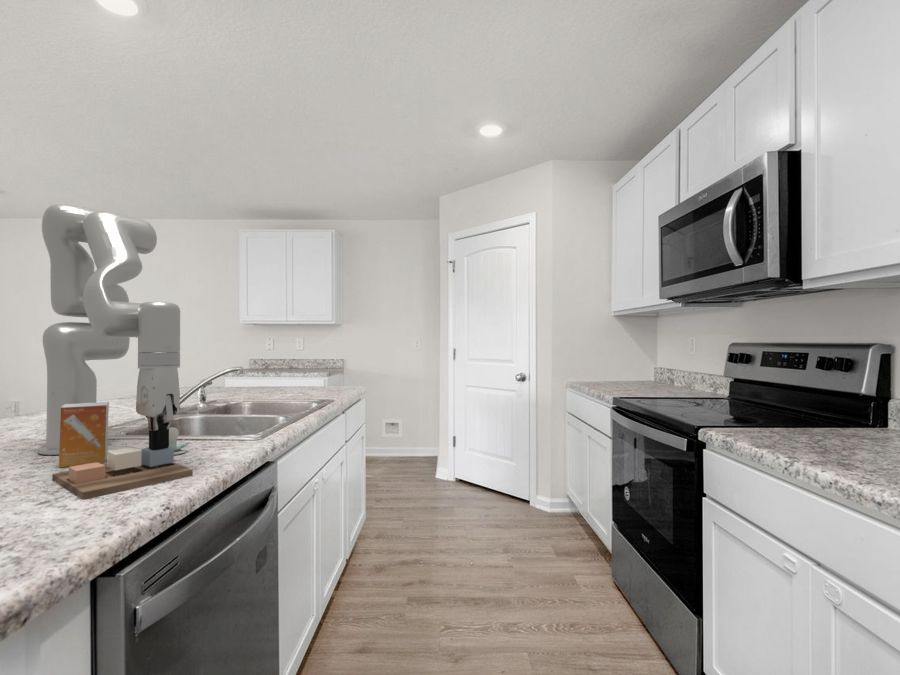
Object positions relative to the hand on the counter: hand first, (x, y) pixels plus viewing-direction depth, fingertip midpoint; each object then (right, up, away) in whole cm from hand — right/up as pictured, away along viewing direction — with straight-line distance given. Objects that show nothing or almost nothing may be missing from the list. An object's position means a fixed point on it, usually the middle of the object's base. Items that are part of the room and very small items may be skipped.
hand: (158, 448), depth 95 cm
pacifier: (-7, -5, +15) cm, 17 cm away
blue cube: (0, -3, 0) cm, 3 cm away
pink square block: (-7, -4, -10) cm, 13 cm away
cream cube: (-4, -2, -5) cm, 7 cm away
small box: (-21, -5, +6) cm, 22 cm away
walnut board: (-4, -5, -5) cm, 8 cm away
